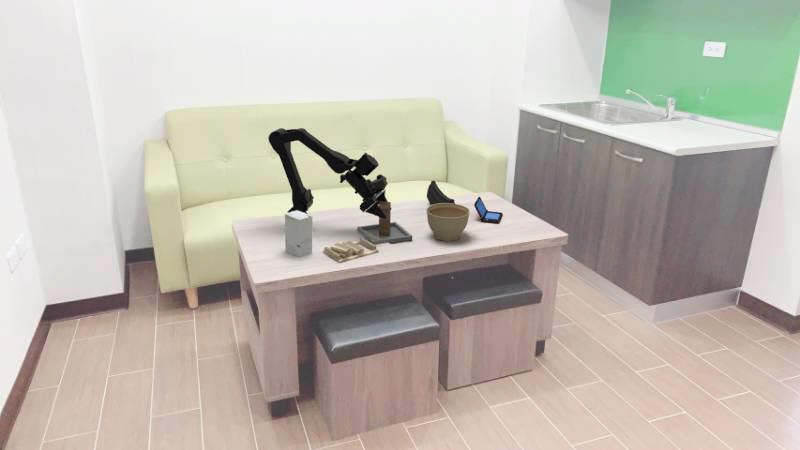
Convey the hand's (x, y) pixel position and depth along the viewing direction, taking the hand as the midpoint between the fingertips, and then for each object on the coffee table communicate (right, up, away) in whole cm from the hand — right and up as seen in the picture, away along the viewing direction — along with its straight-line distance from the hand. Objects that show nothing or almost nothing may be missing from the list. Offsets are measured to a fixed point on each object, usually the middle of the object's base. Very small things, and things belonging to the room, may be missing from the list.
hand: (388, 214), depth 218 cm
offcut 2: (-16, -14, -15) cm, 27 cm away
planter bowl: (+22, -9, +4) cm, 24 cm away
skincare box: (-31, -14, -13) cm, 37 cm away
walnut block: (-1, -8, +3) cm, 9 cm away
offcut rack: (-13, -14, -13) cm, 23 cm away
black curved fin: (+22, +1, +29) cm, 36 cm away
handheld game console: (+41, -1, +25) cm, 48 cm away
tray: (-2, -8, +3) cm, 9 cm away
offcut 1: (-16, -13, -16) cm, 26 cm away
